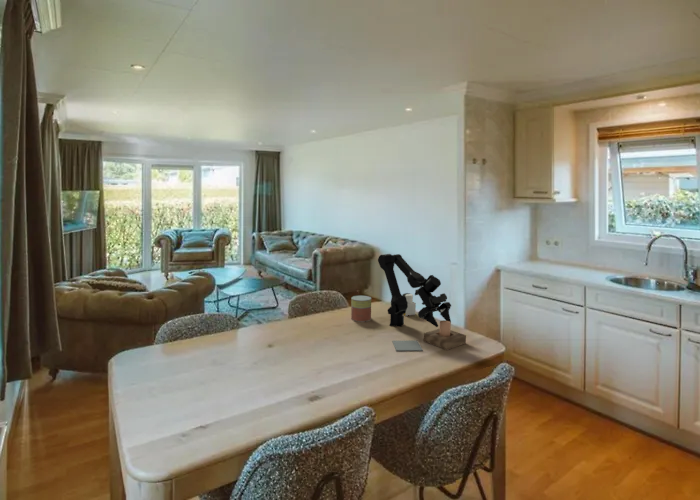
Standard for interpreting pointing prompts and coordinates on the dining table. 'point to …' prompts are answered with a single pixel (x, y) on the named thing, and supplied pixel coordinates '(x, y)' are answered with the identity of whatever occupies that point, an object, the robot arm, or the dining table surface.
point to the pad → (407, 345)
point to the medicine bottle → (409, 305)
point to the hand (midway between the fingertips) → (444, 324)
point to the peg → (445, 328)
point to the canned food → (361, 308)
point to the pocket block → (444, 339)
